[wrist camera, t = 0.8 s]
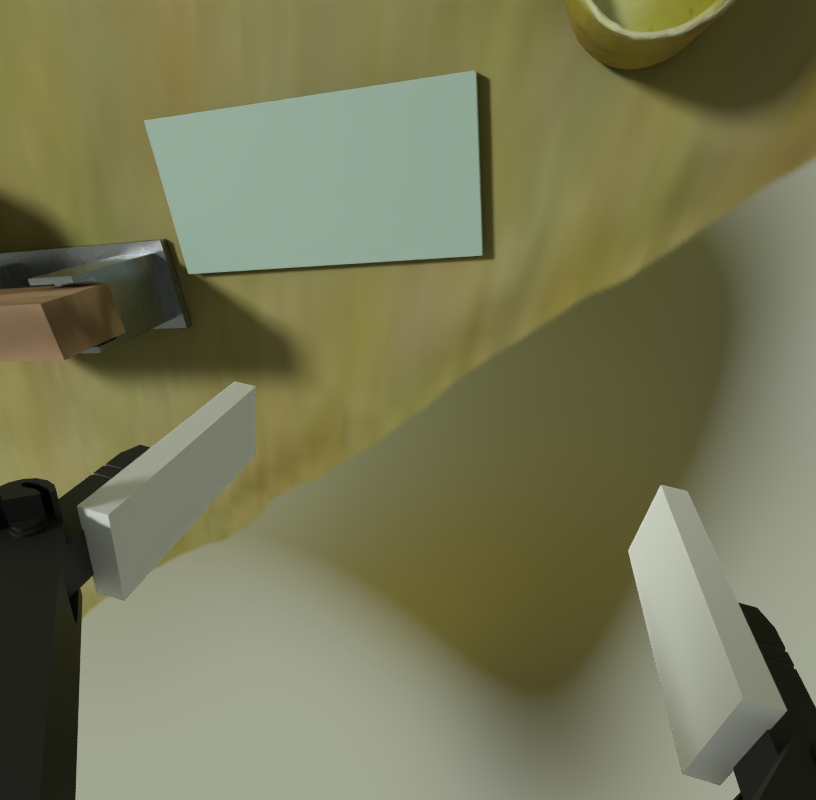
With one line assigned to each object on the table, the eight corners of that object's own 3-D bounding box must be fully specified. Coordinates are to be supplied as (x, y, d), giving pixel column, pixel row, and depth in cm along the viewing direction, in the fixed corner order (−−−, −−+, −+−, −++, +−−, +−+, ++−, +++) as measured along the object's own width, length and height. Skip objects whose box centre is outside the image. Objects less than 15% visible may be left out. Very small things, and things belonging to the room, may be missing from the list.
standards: (-24, 254, 49) (-142, 277, 41) (165, 239, 44) (76, 261, 36) (12, 331, 53) (-90, 367, 44) (191, 325, 48) (116, 364, 39)
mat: (152, 121, 40) (144, 120, 39) (477, 72, 34) (475, 70, 33) (195, 271, 45) (188, 274, 44) (483, 253, 39) (482, 255, 38)
